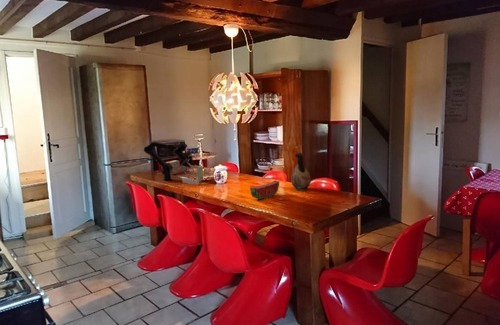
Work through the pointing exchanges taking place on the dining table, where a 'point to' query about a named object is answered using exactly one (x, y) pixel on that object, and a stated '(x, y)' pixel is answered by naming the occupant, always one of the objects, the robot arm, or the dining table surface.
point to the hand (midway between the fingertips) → (192, 166)
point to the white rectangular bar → (190, 181)
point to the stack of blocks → (176, 167)
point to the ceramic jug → (300, 175)
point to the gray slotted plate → (200, 172)
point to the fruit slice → (265, 190)
